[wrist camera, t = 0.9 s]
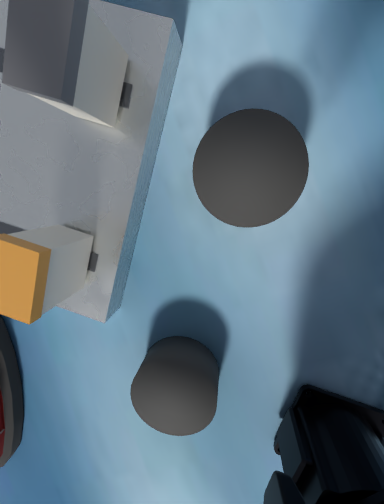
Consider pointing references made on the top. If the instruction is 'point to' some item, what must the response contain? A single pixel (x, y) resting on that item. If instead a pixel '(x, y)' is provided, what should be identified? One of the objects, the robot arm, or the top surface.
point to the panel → (90, 156)
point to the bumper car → (9, 398)
